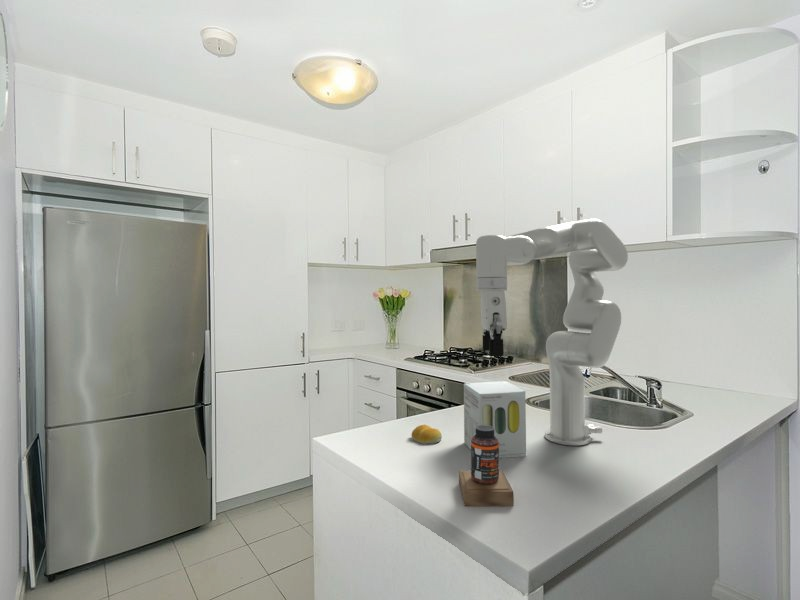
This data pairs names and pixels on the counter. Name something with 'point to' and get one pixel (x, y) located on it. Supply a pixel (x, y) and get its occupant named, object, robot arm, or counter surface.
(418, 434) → the bread roll
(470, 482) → the walnut base
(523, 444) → the supplement box
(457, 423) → the counter surface
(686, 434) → the counter surface
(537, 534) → the counter surface
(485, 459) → the supplement bottle
